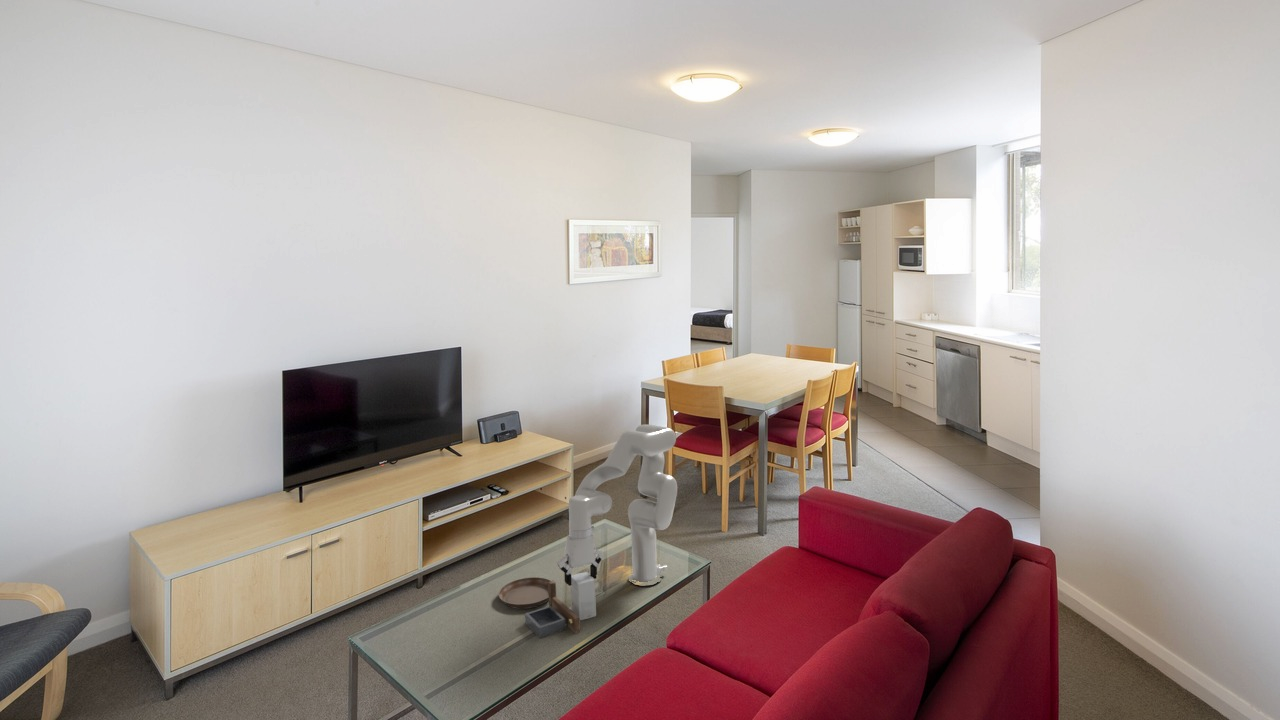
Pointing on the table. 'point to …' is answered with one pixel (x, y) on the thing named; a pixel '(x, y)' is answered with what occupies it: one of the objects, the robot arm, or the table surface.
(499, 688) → the table surface
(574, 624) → the brown l-shaped wood piece
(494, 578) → the table surface
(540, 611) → the gray square tray
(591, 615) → the small box
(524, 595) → the plant saucer
